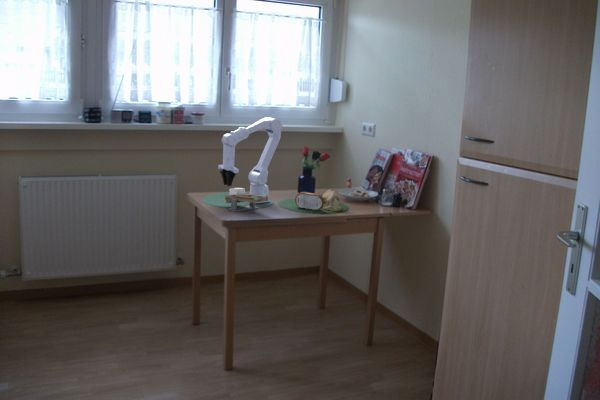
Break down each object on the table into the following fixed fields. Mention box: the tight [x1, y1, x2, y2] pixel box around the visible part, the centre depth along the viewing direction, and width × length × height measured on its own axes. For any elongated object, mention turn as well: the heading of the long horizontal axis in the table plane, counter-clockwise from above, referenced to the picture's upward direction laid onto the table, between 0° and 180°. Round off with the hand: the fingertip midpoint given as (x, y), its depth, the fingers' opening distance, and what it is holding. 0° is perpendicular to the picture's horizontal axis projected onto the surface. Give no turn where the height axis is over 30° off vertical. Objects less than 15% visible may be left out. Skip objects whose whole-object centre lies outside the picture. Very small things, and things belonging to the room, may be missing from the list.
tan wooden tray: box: [224, 193, 269, 204], centre depth 292 cm, size 10×22×4 cm, turn 43°
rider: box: [228, 187, 246, 197], centre depth 296 cm, size 5×6×4 cm
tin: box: [294, 191, 325, 211], centre depth 303 cm, size 15×3×8 cm, turn 71°
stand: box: [228, 198, 259, 213], centre depth 293 cm, size 14×5×6 cm, turn 133°
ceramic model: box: [321, 188, 342, 212], centre depth 309 cm, size 14×11×10 cm
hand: (227, 185), depth 302 cm, fingers open, 2 cm apart
